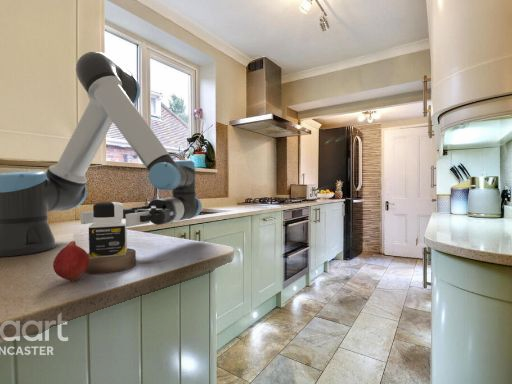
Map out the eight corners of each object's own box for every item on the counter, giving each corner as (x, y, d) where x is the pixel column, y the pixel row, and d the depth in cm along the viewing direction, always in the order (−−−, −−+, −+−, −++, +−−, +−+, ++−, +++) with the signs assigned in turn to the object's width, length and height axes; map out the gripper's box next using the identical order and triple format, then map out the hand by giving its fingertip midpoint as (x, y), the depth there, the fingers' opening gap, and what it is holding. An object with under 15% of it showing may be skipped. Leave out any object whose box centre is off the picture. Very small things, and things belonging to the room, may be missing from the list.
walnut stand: (93, 261, 67) (93, 249, 67) (140, 258, 69) (140, 247, 69) (72, 275, 57) (72, 261, 57) (128, 272, 59) (128, 258, 59)
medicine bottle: (89, 259, 58) (87, 203, 58) (94, 251, 65) (92, 201, 65) (125, 255, 61) (124, 202, 61) (126, 248, 68) (125, 200, 67)
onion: (51, 288, 50) (49, 245, 49) (57, 279, 55) (55, 239, 54) (88, 283, 52) (87, 242, 52) (90, 274, 57) (89, 237, 57)
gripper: (201, 224, 77) (148, 239, 57) (132, 221, 86) (65, 233, 66) (201, 198, 77) (147, 203, 57) (132, 198, 85) (64, 202, 65)
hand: (103, 219), depth 61 cm, fingers open, 13 cm apart
